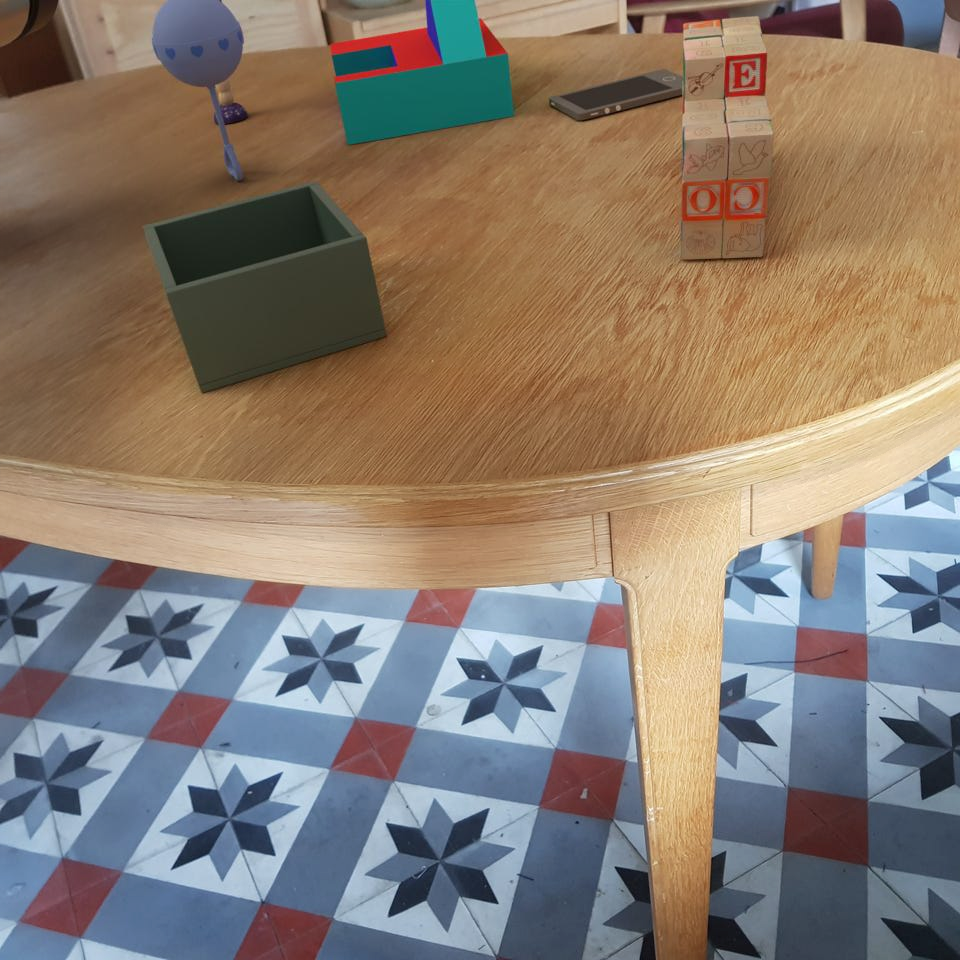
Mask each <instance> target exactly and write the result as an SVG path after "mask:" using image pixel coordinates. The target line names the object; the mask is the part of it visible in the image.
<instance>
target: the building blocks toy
mask: <svg viewBox="0 0 960 960" xmlns="http://www.w3.org/2000/svg"><path fill="white" fill-rule="evenodd" d="M424 1H425V3H424V4H425V16H426V27H422V28H415V29H409V30H403V31H398V32H392V33H387V34H386V33H385V34H381V35H380V34H379V35H375V36H367V37H363V38H357V39H351V40H345V41H339V42H333V43H330V45H329V46H330V54H331V60H332V64H333V69H334V73H335V76H334V77H333V78H334V79H333V80H334V86H335V91H336V96H337V101H338V106H339V110H340V115H341V119H342V124H343V131H344V134H345V140H346V144H347V146H349V145H356V144H361V143H368V142H373V141H379V140H386V139H391V138H396V137H402V136H408V135H413V134H418V133H425V132H431V131H436V130H442V129H447V128H452V127H458V126H459V127H460V126H466V125H470V124H477V123H482V122H487V121H493V120H499V119H506V118H510V117H515V111H514V102H513V101H514V100H513V91H512V81H511V73H510V72H511V71H510V61H509V53H508V51H507V50H506V49H505V48H504V47H503V45H502V44H501V42H500V41H499V40H498V38H497V37H496V36H495V35H494V33H493V32H492V31H491V29H490V28H489V27H488V25H487V24H486V23H485V22H484V20H483V19H482V18H480V17H479V14H478V9H477V4H476V0H424Z"/></svg>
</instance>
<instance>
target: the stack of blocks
mask: <svg viewBox="0 0 960 960" xmlns="http://www.w3.org/2000/svg"><path fill="white" fill-rule="evenodd" d="M682 27H683V30H682V76H683V88H682V95H681V96H682V97H681V98H682V102H681V103H682V104H681V109H682V110H681V113H682V114H681V115H682V117H681V198H680V199H681V200H680V242H681V245H680V247H681V249H680V251H681V252H680V259H681V260H706V259H707V260H708V259H710V260H711V259H738V258H739V259H740V258H759V257H760V258H761V257H763V256H764V251H765V240H766V218H767V216H768V204H769V187H770V177H771V176H772V169H773V168H772V167H773V152H774V133H775V132H774V129H773V125H772V121H771V120H772V118H771V113H770V110H769V104H768V101H767V98H766V91H767V90H766V89H767V67H768V65H767V64H768V51H767V48H766V45H765V43H764V41H763V32H762V27H761V21H760V17H759V16H758V15H754V16H743V17H742V16H741V17H730V18H722V19H712V20H701V21H693V22H685V23H683V24H682Z"/></svg>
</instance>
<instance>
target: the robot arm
mask: <svg viewBox="0 0 960 960" xmlns="http://www.w3.org/2000/svg"><path fill="white" fill-rule="evenodd" d="M59 1H60V0H0V48H2V47H4V46H6V45H9V44H10V43H13V42H15V41H19V40H21V39H23V38H25V37H27V36H28V35H29V36H30V34H33V33H34V32H37V31H39V30H41V29H43V28H44V27H45V26H46V25H47V24H48V23H49V22H50V21H51V20H52V19H53V17H54V15H55V13H56V11H57V8H58V4H59Z"/></svg>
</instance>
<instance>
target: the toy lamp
mask: <svg viewBox="0 0 960 960" xmlns="http://www.w3.org/2000/svg"><path fill="white" fill-rule="evenodd" d="M219 1H220V2H222V3H223V0H219ZM215 90H216V92H218V94H217V97H218V102H220V103H219V106H220V110H221V113H222V117H223V121H224V124H225V125H227V124H228V125H229V124H233V123H237V122H241V121H242V120H245V119H246V118H248V116H249V114H248V111H247V110H246V108H245V107H244V106H243V105H242V104H240V103H238V102H234V94H233V92H232V91H231V83H230V80H229V78H228V79H227V80H225V81H224V82H222V83H220V84H217V85H215ZM213 122H214V123H215V124H217V125H219V124H218V120H217V116H216V113H215V112H214V114H213Z"/></svg>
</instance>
